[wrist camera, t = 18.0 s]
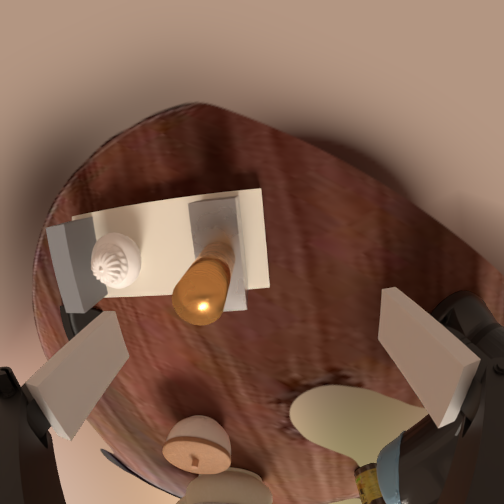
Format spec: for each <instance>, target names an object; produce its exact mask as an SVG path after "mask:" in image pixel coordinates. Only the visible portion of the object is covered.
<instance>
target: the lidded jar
mask: <svg viewBox="0 0 504 504" xmlns="http://www.w3.org/2000/svg"><path fill="white" fill-rule="evenodd" d="M162 451H163V455H164V456H165V458H166V459H167V460H168V461H169V462H170V463H171V464H173V465H174V466H176V467H178V468H180V469H182V470H185V471H188V472H192V473H197V474H217V473H221V472H223V471H225V470H227V469H228V468H229V467H230V465H231V443H230V439H229V436H228V434H227V432H226V431H225V430H224V428H223V427H222V426H221V425H219V423H218V422H217V421H215V420H214V419H212V418H210V417H207V416H203V415H194V416H190V417H189V418H185V419H183V420H181V421H179V422H178V423H177V424H175V425H174V426H173V428H172V429H171V431H170V432H169V434H168V436H167V439H166V442H165V444H164V446H163V450H162Z"/></svg>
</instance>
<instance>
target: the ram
mask: <svg viewBox="0 0 504 504" xmlns="http://www.w3.org/2000/svg"><path fill="white" fill-rule="evenodd" d="M188 209H189V217H190V225H191V233H192V240H193V247H194V254H195V261H194V262H193V263H192V265H191V266H190V267H189V269H188V270H187V271H186V273H185V274H184V275H183V277H182V278H181V279H180V281H179V282H178V283H177V285H176V286H175V288H174V290H173V293H172V303H173V307H174V309H175V311H176V312H177V314H178V315H179V316H180V317H181V318H182V319H184V320H185V321H187V322H189V323H191V324H195V325H207V324H210V323H212V322H214V321H216V320H217V319H218V318H219V317H220V316H221V314H222V312H223V311H237V310H247V302H248V278H247V268H246V259H245V249H244V240H243V230H242V220H241V210H240V201H239V195H238V196H229V197H219V198H211V199H202V200H198V201H195V202H191V203H188Z"/></svg>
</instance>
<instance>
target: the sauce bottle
mask: <svg viewBox="0 0 504 504" xmlns="http://www.w3.org/2000/svg"><path fill="white" fill-rule="evenodd" d="M376 466H377V463H370V464H367V465H365V466H362V467H360V468H359V469H358V470H356V471H355V474H354V476H355V481H356V484H357V488H358V491H359V495H360V499H361V502H362V504H386V503H385V501H384V499H383V496H382V494H381V491H380V488H379V484H378V479H377V470H376Z"/></svg>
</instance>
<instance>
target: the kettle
mask: <svg viewBox="0 0 504 504" xmlns="http://www.w3.org/2000/svg"><path fill="white" fill-rule="evenodd" d="M176 504H272V494H271V491H270V489H269V488H268V487H267V486H266V485H265V484H264V483H263V482H262V479H261V478H260V476H258V475H257V474H255V473H253V472H251V471H248V470H245V469H240V468H234V467H229V468H228V469H227V470H225V471H223V472H221V473H217V474H199V476H198V477H197V478H195V479H194V480H193V481H191V482H190V484H189V485H188V487H187V490H186V495H185V496H184V497H183V498H181V499H180V500H179V501H178V502H177V503H176Z"/></svg>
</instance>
